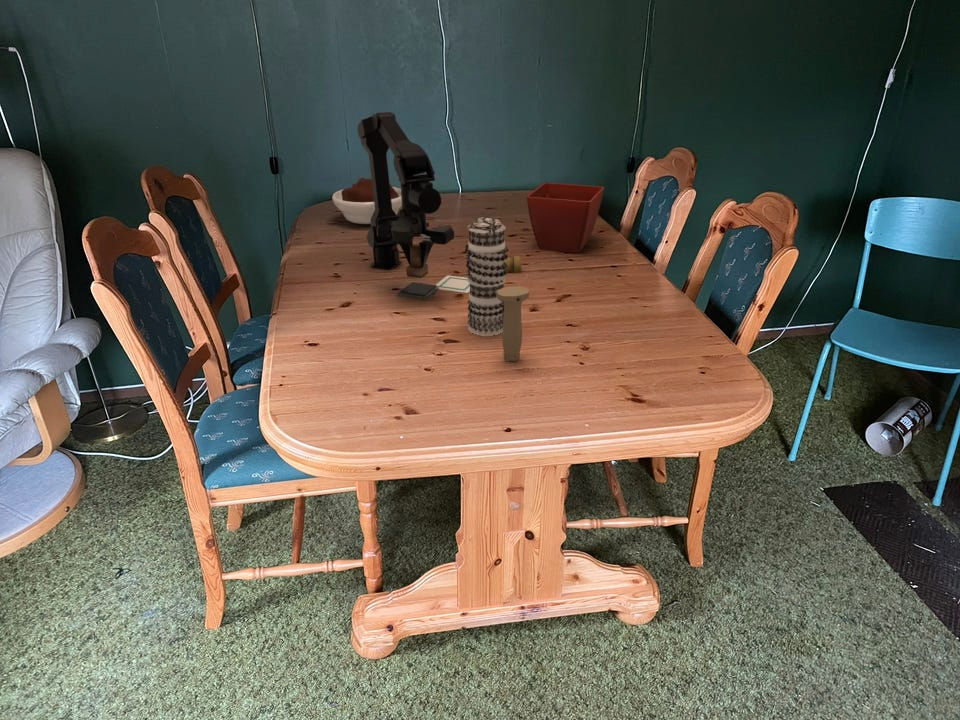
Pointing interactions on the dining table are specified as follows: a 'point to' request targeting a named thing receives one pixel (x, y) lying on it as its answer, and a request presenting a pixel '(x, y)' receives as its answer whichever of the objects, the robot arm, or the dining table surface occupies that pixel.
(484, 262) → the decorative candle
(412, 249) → the stamp
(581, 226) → the plant pot
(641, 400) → the dining table surface
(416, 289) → the ink pad
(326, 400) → the dining table surface
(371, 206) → the bowl of chocolate pudding
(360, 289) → the dining table surface
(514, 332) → the handle
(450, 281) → the print card
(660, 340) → the dining table surface
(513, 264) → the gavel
